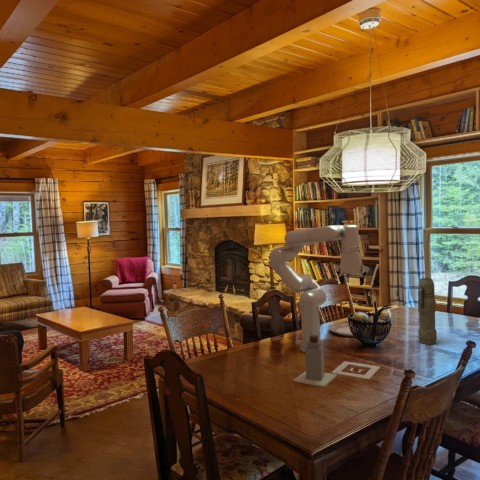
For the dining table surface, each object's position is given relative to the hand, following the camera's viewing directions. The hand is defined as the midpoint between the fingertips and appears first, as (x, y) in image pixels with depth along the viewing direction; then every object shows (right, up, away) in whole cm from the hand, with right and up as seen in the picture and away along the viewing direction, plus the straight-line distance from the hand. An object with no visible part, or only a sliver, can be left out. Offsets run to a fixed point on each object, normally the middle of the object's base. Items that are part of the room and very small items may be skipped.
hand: (352, 284), depth 215 cm
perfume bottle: (-23, -38, -25) cm, 51 cm away
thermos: (+46, -34, +20) cm, 61 cm away
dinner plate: (+13, -34, +47) cm, 60 cm away
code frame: (-3, -37, -17) cm, 41 cm away
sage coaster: (-23, -39, -25) cm, 51 cm away
